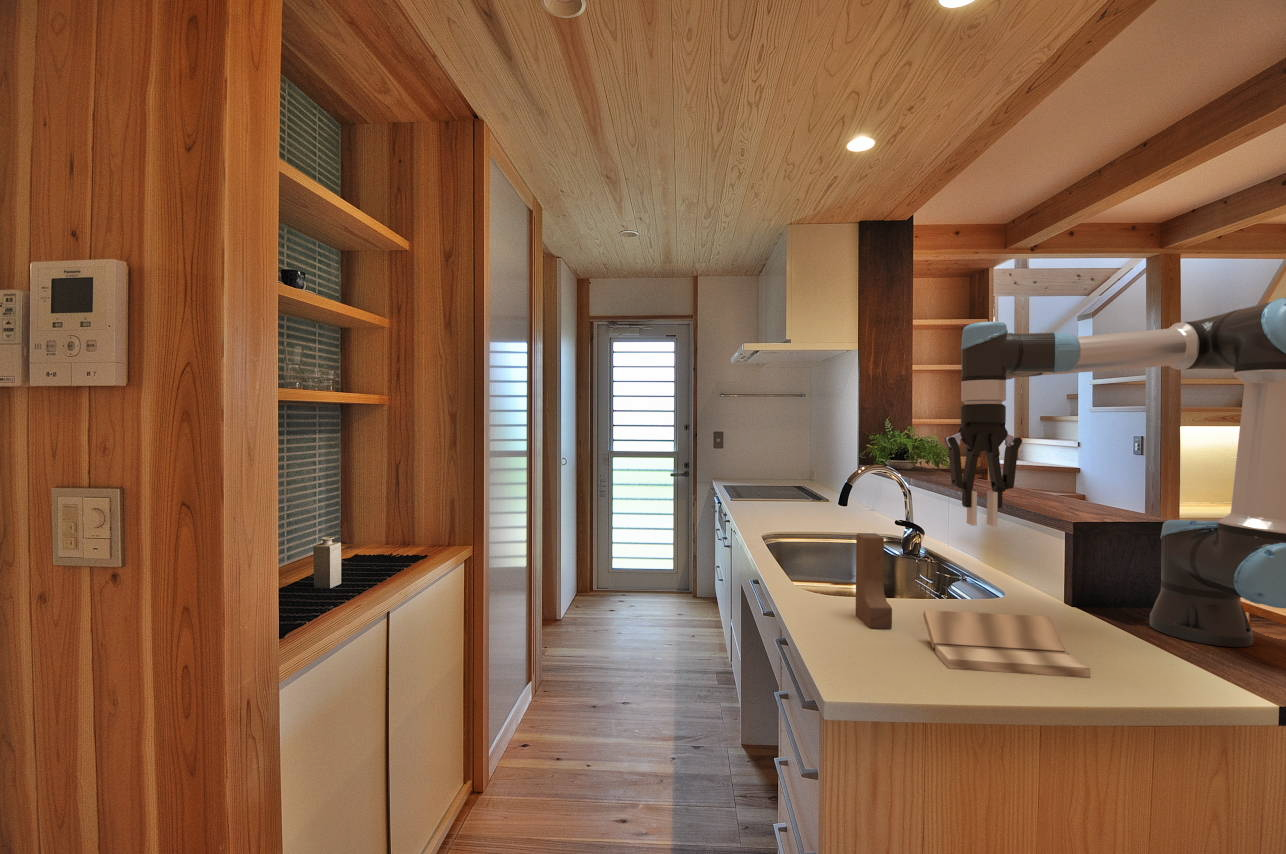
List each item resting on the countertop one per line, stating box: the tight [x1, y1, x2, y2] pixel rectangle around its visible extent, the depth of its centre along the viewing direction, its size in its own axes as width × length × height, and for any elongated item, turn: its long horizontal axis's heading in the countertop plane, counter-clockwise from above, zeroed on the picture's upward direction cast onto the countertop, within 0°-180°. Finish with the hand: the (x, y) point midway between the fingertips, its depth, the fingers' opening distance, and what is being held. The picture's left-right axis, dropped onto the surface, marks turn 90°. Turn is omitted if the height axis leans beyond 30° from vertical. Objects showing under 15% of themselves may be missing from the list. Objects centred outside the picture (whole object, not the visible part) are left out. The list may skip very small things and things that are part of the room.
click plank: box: [922, 609, 1067, 653], centre depth 108 cm, size 22×7×2 cm
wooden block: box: [855, 532, 893, 630], centre depth 123 cm, size 9×4×18 cm, turn 179°
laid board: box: [934, 645, 1091, 679], centre depth 101 cm, size 22×6×2 cm, turn 82°
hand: (981, 524), depth 112 cm, fingers open, 3 cm apart
